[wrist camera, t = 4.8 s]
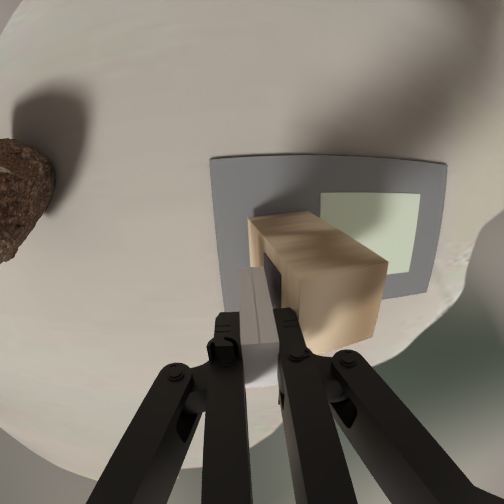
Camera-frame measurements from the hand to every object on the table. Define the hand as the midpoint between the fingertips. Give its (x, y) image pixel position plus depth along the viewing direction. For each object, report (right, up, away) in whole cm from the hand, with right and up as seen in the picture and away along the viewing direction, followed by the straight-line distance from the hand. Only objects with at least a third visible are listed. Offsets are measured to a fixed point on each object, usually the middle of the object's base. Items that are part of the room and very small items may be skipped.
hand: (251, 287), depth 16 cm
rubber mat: (+8, +3, +7) cm, 11 cm away
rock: (-21, +9, +3) cm, 23 cm away
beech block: (+2, +3, +6) cm, 7 cm away
